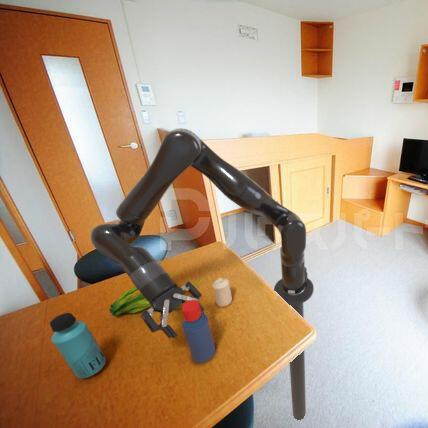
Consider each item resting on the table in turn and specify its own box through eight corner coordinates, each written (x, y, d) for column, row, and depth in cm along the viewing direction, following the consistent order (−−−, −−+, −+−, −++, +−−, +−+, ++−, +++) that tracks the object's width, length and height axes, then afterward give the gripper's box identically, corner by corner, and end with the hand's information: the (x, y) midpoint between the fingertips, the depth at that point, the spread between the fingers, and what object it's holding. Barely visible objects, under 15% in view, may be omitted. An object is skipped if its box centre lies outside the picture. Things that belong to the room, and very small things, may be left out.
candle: (216, 308, 85) (211, 287, 81) (216, 298, 90) (211, 277, 86) (232, 304, 88) (228, 282, 83) (231, 294, 92) (227, 273, 88)
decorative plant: (199, 316, 82) (190, 283, 76) (109, 320, 80) (92, 287, 74) (216, 281, 99) (210, 251, 92) (141, 284, 96) (129, 253, 90)
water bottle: (210, 339, 74) (198, 294, 66) (218, 353, 70) (207, 307, 62) (189, 352, 70) (174, 306, 63) (196, 367, 66) (181, 320, 59)
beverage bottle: (97, 382, 63) (63, 329, 54) (70, 384, 62) (32, 330, 54) (114, 358, 69) (86, 307, 60) (90, 359, 68) (58, 308, 60)
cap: (198, 307, 66) (195, 297, 65) (203, 316, 64) (200, 305, 62) (182, 315, 64) (179, 305, 62) (187, 324, 61) (184, 314, 60)
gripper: (127, 292, 59) (169, 343, 59) (180, 262, 70) (214, 304, 71) (122, 301, 63) (161, 348, 63) (173, 271, 75) (205, 310, 75)
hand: (189, 325), depth 67 cm, fingers open, 8 cm apart
